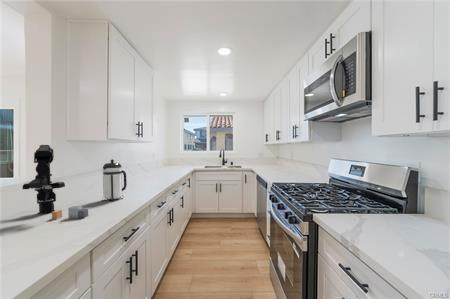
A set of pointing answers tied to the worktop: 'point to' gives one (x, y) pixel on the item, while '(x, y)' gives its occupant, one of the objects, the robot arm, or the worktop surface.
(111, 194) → the coffee press
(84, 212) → the block
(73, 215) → the steel block
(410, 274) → the worktop surface
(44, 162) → the robot arm
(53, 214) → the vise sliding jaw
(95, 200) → the worktop surface
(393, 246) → the worktop surface
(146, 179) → the worktop surface
